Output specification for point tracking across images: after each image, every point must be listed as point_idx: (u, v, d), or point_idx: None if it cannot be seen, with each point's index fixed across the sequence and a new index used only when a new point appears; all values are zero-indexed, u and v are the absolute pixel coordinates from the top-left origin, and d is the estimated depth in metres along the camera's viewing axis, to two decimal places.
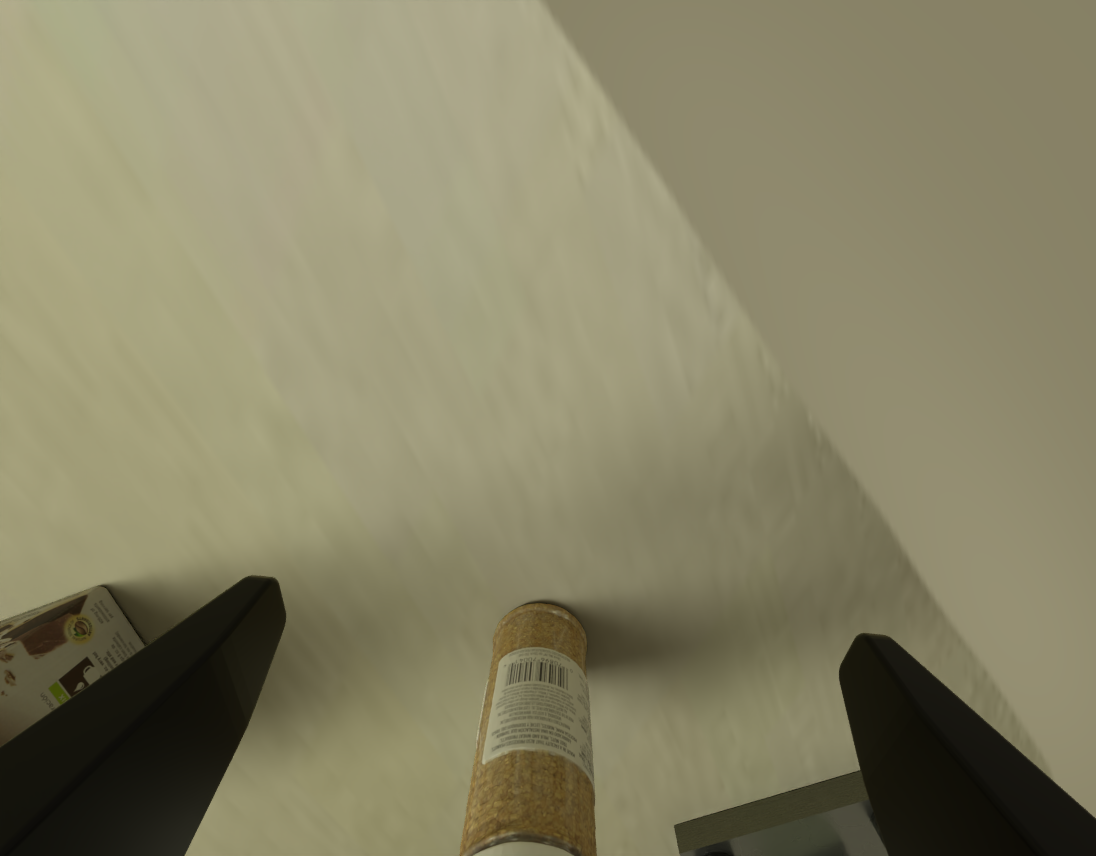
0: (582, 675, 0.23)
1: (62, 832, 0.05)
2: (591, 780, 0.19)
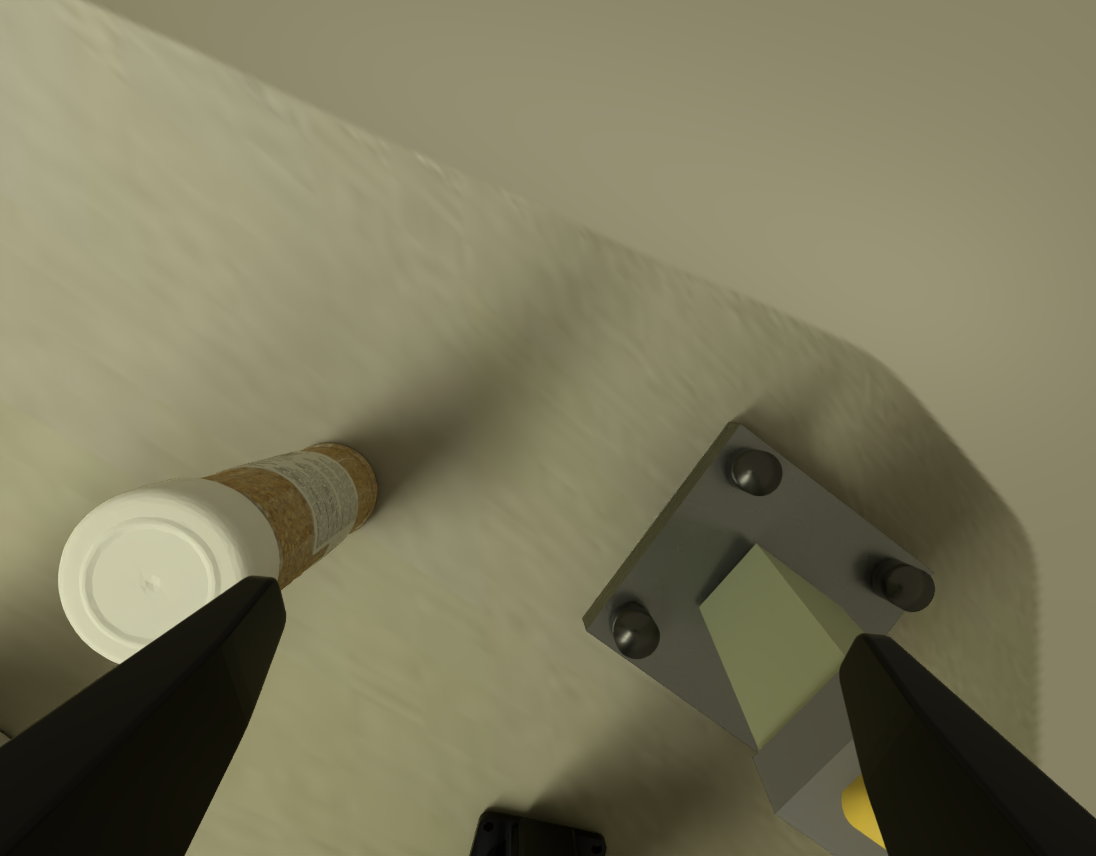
0: (328, 458, 0.23)
1: (62, 832, 0.05)
2: (291, 480, 0.18)
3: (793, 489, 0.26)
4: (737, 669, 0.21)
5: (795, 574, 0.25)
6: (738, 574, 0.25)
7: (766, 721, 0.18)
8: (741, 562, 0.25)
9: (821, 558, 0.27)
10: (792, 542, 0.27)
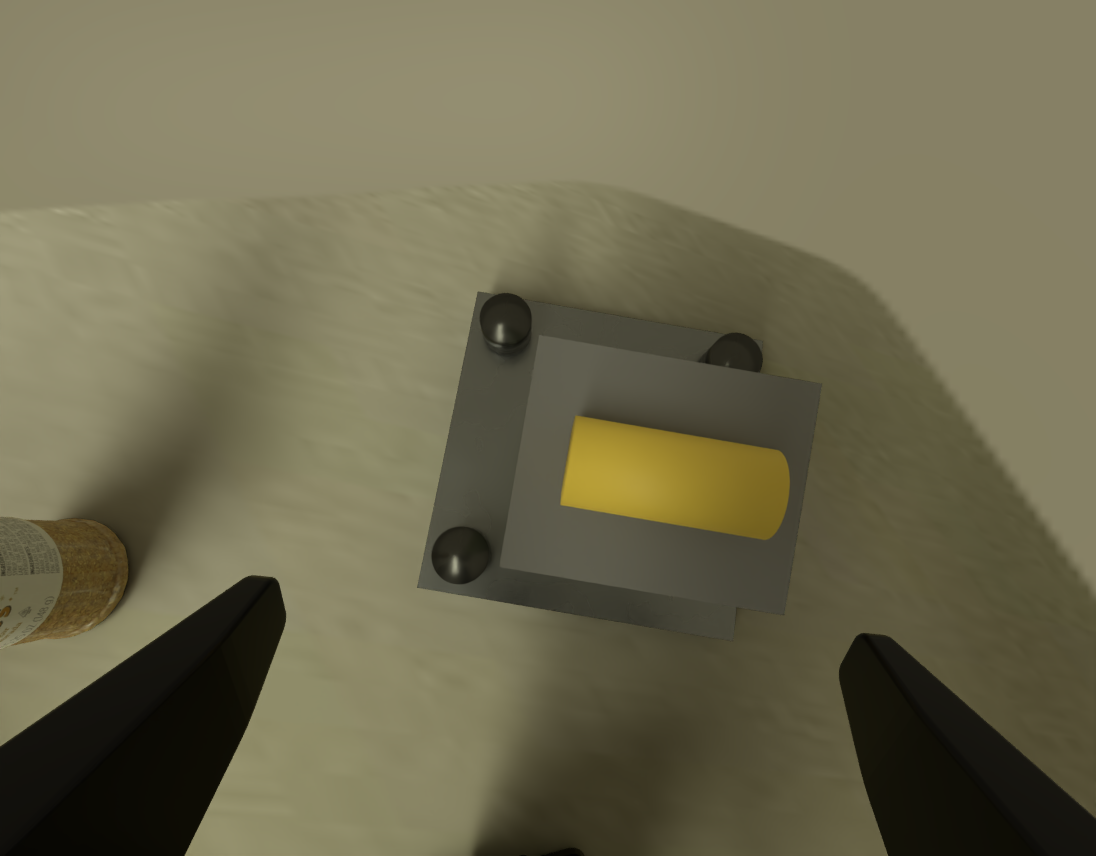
0: (2, 517, 0.19)
1: (63, 832, 0.05)
2: None
3: (566, 328, 0.23)
4: None
5: None
6: None
7: None
8: None
9: None
10: None
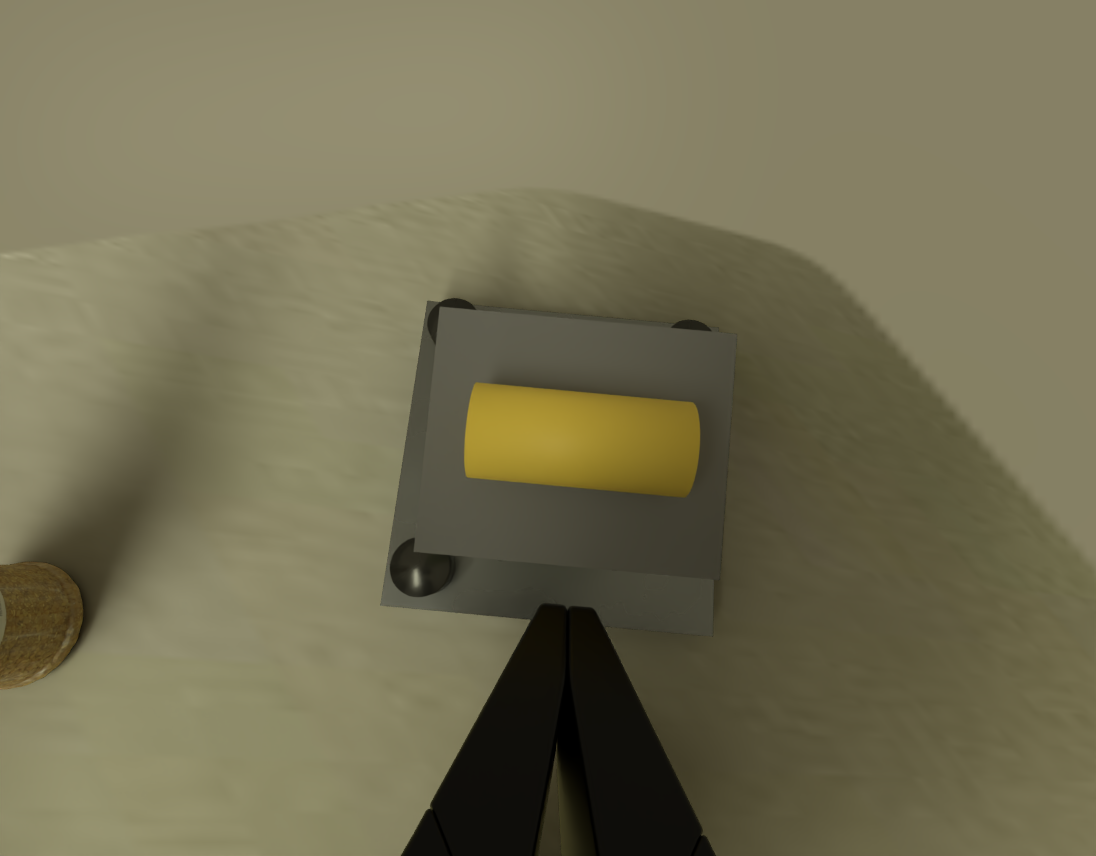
0: None
1: None
2: None
3: None
4: None
5: None
6: None
7: None
8: None
9: None
10: None
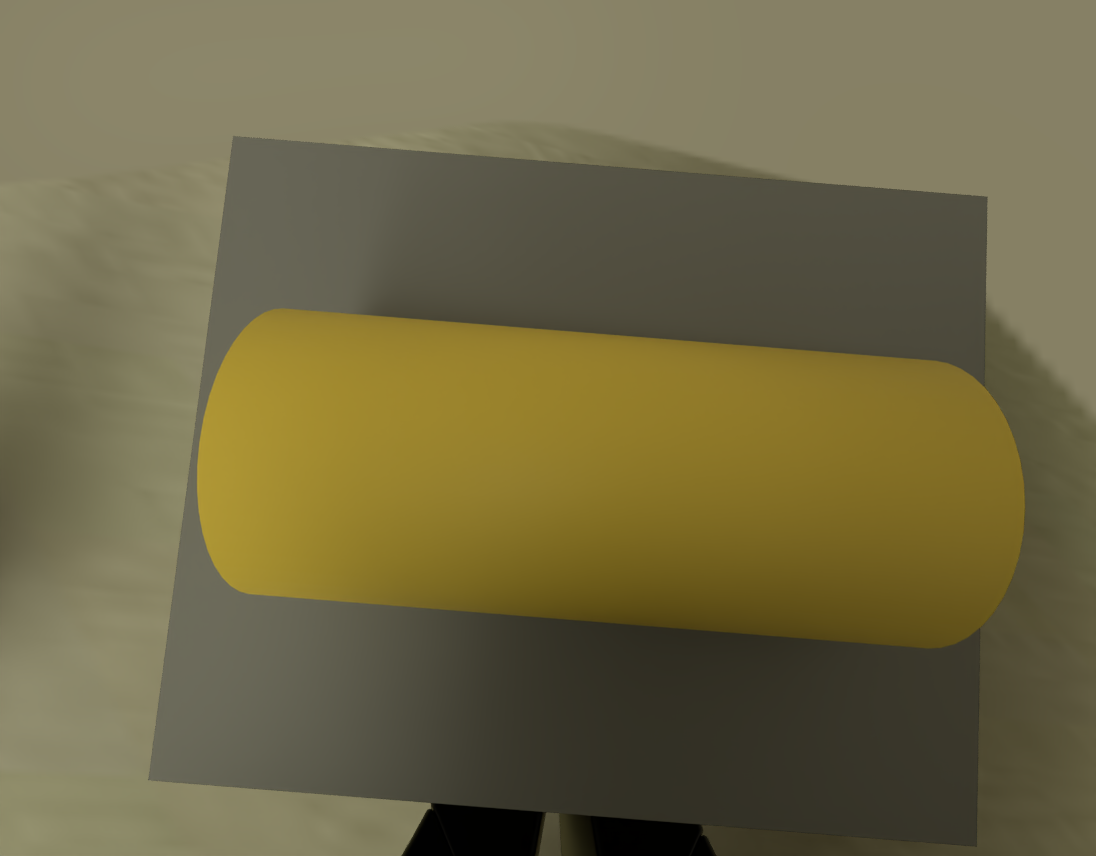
0: None
1: None
2: None
3: None
4: None
5: None
6: None
7: None
8: None
9: None
10: None
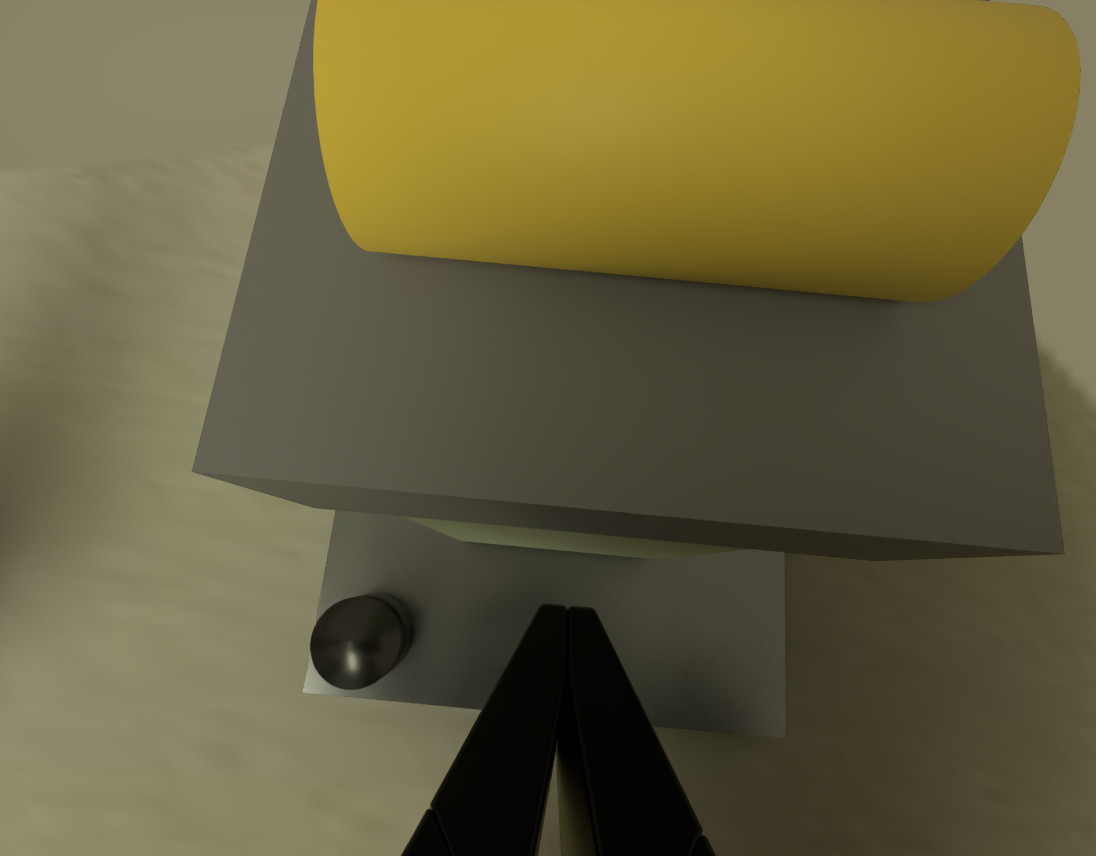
0: None
1: None
2: None
3: None
4: None
5: None
6: None
7: None
8: None
9: None
10: None
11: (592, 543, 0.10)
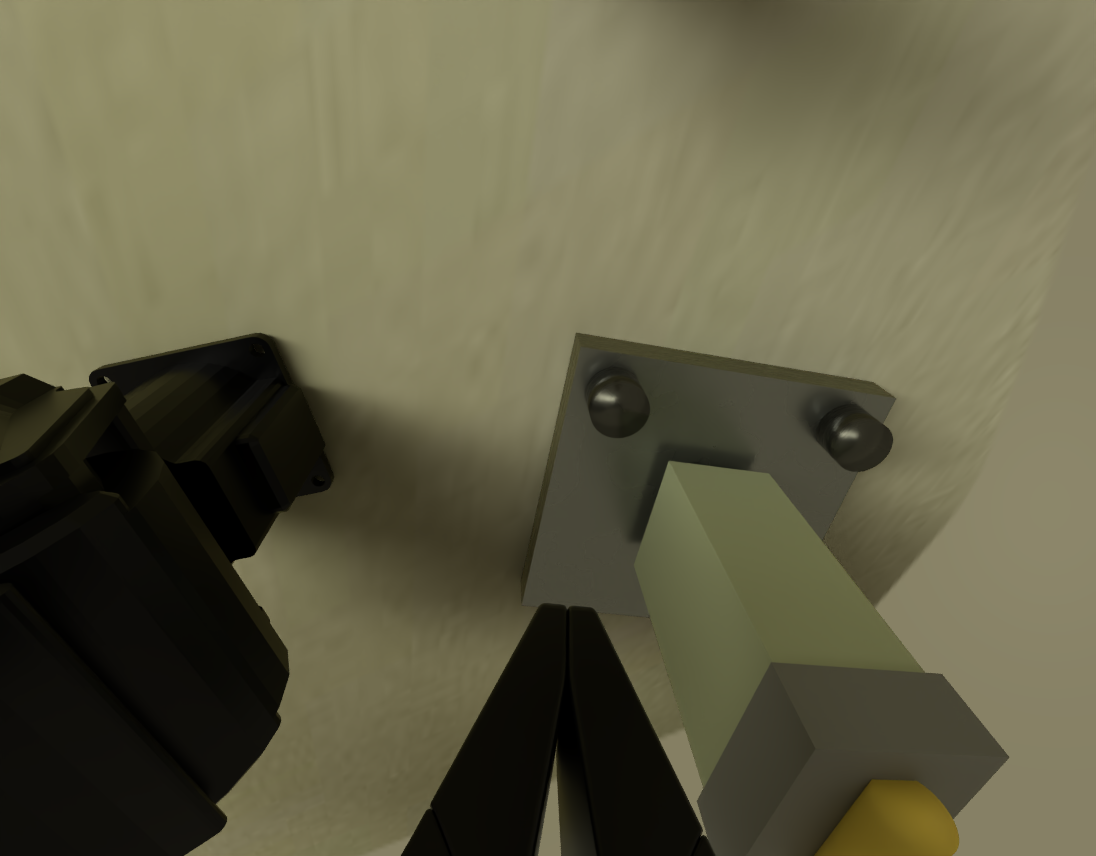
0: None
1: None
2: None
3: (829, 482, 0.22)
4: (733, 557, 0.16)
5: None
6: (739, 479, 0.20)
7: (784, 639, 0.14)
8: (744, 472, 0.21)
9: None
10: None
11: (677, 603, 0.18)
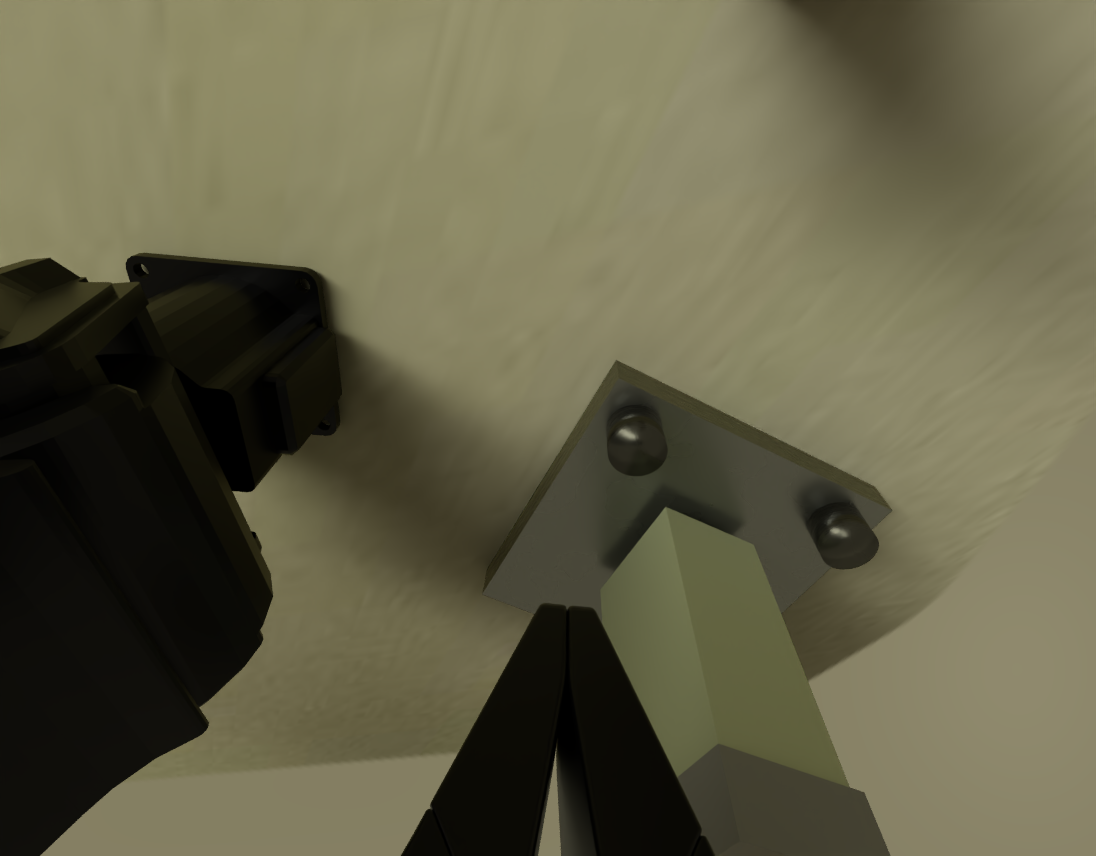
0: None
1: None
2: None
3: (805, 566, 0.23)
4: (705, 625, 0.17)
5: None
6: (725, 543, 0.21)
7: (734, 721, 0.14)
8: (731, 537, 0.22)
9: None
10: None
11: (635, 645, 0.19)
